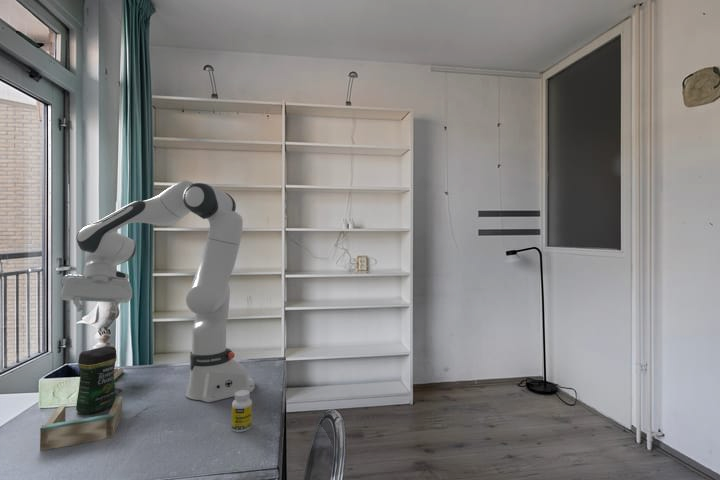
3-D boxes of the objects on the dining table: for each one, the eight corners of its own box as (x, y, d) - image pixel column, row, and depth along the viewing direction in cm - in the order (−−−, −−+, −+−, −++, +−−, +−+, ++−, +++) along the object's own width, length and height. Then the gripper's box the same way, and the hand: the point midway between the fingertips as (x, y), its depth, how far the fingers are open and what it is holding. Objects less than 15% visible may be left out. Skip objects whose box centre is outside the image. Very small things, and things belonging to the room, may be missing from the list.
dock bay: (121, 413, 108) (122, 394, 108) (112, 437, 95) (113, 416, 95) (58, 424, 101) (59, 404, 102) (39, 451, 88) (40, 428, 88)
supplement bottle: (232, 434, 97) (233, 398, 97) (230, 425, 102) (230, 390, 102) (253, 429, 100) (253, 394, 100) (249, 421, 104) (250, 387, 104)
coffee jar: (89, 417, 106) (90, 354, 106) (71, 412, 108) (72, 351, 108) (120, 403, 115) (122, 345, 115) (103, 399, 117) (104, 343, 118)
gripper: (64, 268, 120) (60, 305, 112) (133, 275, 134) (134, 307, 127) (59, 278, 123) (55, 315, 115) (127, 284, 137) (128, 316, 130)
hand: (97, 311), depth 121 cm, fingers open, 8 cm apart
